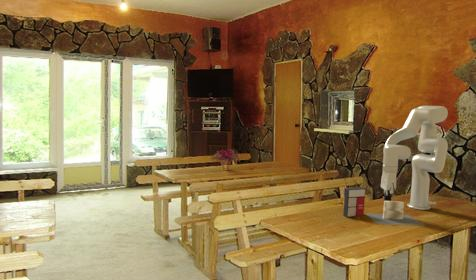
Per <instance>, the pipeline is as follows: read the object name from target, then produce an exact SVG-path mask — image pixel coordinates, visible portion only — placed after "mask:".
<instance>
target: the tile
mask: <svg viewBox="0 0 476 280" xmlns="http://www.w3.org/2000/svg"><path fill="white" fill-rule="evenodd" d="M382 208H383V209H382V214H383V218H384V219H403V215H404V212H405V211H404V209H405V202H404V201H403V200H401V201H400V200H391V201H384V200H383V207H382Z"/></svg>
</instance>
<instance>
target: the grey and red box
mask: <svg viewBox="0 0 476 280" xmlns="http://www.w3.org/2000/svg"><path fill="white" fill-rule="evenodd" d="M343 190H344V191H343V196H344V198H343V199H344V201H343V215H342V216H343V217H345V218H354V217H355V216H356V217H357V216H364V215H365V214H364V213H365V200H366V188H365V187H362V186H357V187H354V186H353V187H344V189H343Z"/></svg>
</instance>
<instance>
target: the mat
mask: <svg viewBox="0 0 476 280" xmlns="http://www.w3.org/2000/svg"><path fill="white" fill-rule="evenodd" d="M364 213H365V212H364ZM364 215H366V216H367V217H368V218H369V219H371V220H372V221H373V222H375V223H376V224H377V225H392V226H393V225H397V226H399V225H402V226H403V225H404V226H426V225H425V224H424V223H422V222H420V221H419V220H418V219H416V218H414V217H413V216H411V215H410V214H403V219H384V218H383V213H365V214H364Z"/></svg>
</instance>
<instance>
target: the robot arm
mask: <svg viewBox="0 0 476 280" xmlns="http://www.w3.org/2000/svg"><path fill="white" fill-rule="evenodd" d="M448 114H449V113H448V109H447V108H446V107H445V106H441V105H420V106H418V107H415V108H412V109H411V111H410V112H409V114H408V116H407V118H406V120H405V122H404V124H403V126H402V127H401V128H400V129H398V130H396V131H395V132H394V133H392V134H391V135H390V136H388V138H387V140H386V142H385V144H384V146H383V152H382V153H383V161H382V175H381V178H380V179H381V181H380V188H381V189H383V192H384V196H383V197H384V199H383V202H384V201H392V196H393V194H394V192H395V191H396V189H397V173H398V169H399V160H404V161H405V160H408V159H409V158H410V157H411V155H412V154H411V153H412V150H411V148H410V147H409V146H407V145H402V144H398V143H399V142H401V141H404V140H408V139H411V138H412V139H413V138H415V137H416V136H417V135H418V133H419V132H420V133H419V137H418V141H417V142H418V143H417V149H418V151H419V152H422V153H418V154H415V155H413V156H412V159H411V169H412V172H411V173H412V176H411V187H410V188H411V189H410V199H409V203H406V206H407V207H408V208H410V209H414V210H419V211H422V210H423V211H425V210H426V211H428V210H431V206H436V205H437V201H430V200H429V194H430V192H429V191H430V183H431V182H430V181H431V179H430V175H429V173H436V174H440V173H441V172H443V170H444V168H445V165H446V164H445V163H446V158H447V155H448V149H449V145H448V141H447V139H446V138H444V137H439V136H437V131H438V129H437V125H436V124H438V123H442V122H444V121H445V120H446V119H447V117H448ZM424 153H425V154H424ZM426 153H429V154H426ZM431 154H434V155H431Z"/></svg>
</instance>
